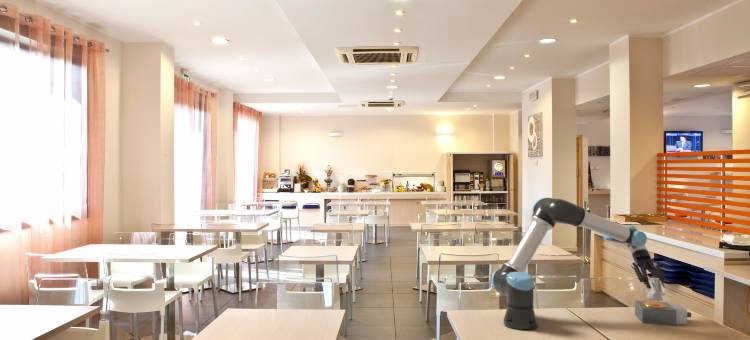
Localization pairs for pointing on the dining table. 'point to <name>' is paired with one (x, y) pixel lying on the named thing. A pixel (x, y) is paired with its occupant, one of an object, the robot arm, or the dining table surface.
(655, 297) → the flask
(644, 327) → the dining table surface
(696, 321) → the dining table surface
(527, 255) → the robot arm
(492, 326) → the dining table surface
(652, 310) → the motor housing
